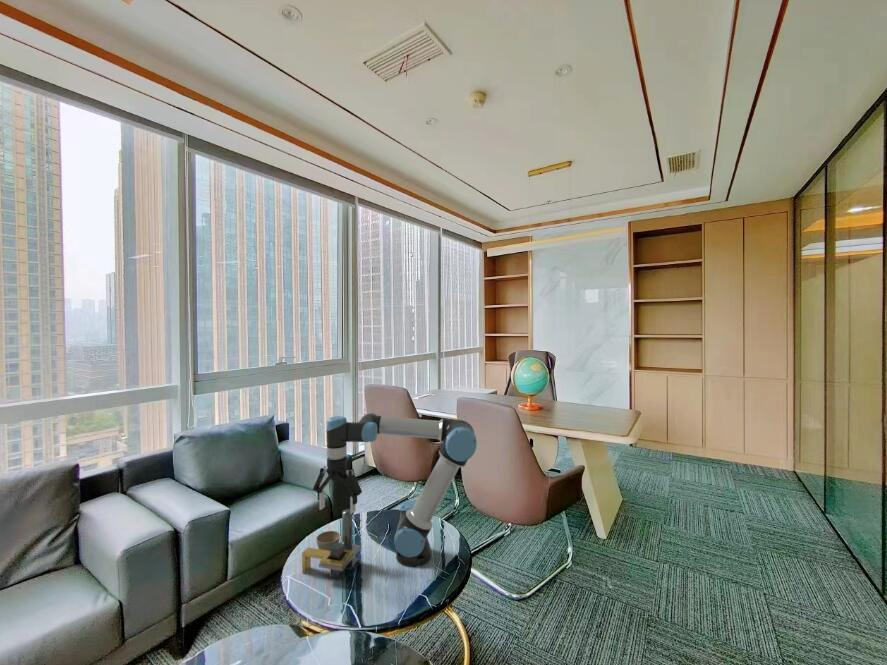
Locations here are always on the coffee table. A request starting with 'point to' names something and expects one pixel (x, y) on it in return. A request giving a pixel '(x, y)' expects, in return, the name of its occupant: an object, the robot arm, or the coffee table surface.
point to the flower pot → (327, 539)
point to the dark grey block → (337, 554)
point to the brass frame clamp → (324, 555)
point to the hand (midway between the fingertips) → (337, 510)
